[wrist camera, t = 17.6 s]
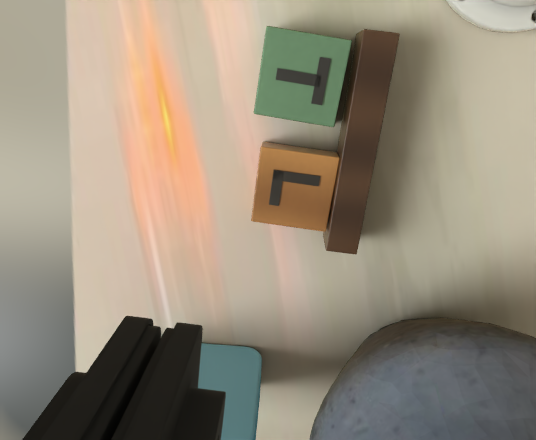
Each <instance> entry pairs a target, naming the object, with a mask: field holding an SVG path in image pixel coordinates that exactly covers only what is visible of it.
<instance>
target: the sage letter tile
mask: <svg viewBox="0 0 536 440" xmlns="http://www.w3.org/2000/svg"><path fill="white" fill-rule="evenodd" d="M351 44H352V41H351V40H347V39H341V38H335V37H330V36H324V35H318V34H312V33H306V32H300V31H294V30H288V29H283V28H277V27H271V26H267V27H266V33H265V40H264V47H263V54H262V61H261V68H260V74H259V81H258V88H257V95H256V102H255V108H254V114H258V115H264V116H270V117H276V118H282V119H288V120H294V121H300V122H306V123H312V124H317V125H323V126H329V127H334V126H335V121H336V116H337V111H338V106H339V102H340V97H341V92H342V87H343V82H344V78H345V73H346V68H347V63H348V58H349V53H350V49H351Z"/></svg>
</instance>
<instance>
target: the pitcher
mask: <svg viewBox="0 0 536 440" xmlns="http://www.w3.org/2000/svg"><path fill="white" fill-rule="evenodd" d="M310 440H536V338H534V337H532V336H529V335H526V334H522V333H519V332H516V331H513V330H510V329H507V328H503V327H500V326H497V325H493V324H490V323H489V324H487V323H481V322H473V321H467V320H459V319H448V318H447V319H445V318H435V319H414V320H403V321H400V322H397V323H394V324H391V325H389V326H386V327H383V328H382V329H380V330H379V331H377V332H375V333H373V334H371V335H370V336H369V337H368V338H367V339H366V340H365V341H364V342H363V343H362V344H361V346H360V347H359V348H358V350H357V351H356V352H355V353H354V355H353V356H352V357H351V359H350V360H349V361H348V362H347V364H346V365H345V367H344V368H343V369H342V371H341V372H340V374H339V375H338V377H337V379H336V380H335V382H334V383H333V384H332V386H331V387H330V389H329V391H328V393H327V395H326V396H325V398H324V400H323V402H322V404H321V407H320V409H319V411H318V414H317V416H316V418H315V420H314V424H313V427H312V431H311V435H310Z"/></svg>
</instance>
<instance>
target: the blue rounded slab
mask: <svg viewBox="0 0 536 440" xmlns="http://www.w3.org/2000/svg"><path fill="white" fill-rule="evenodd" d="M261 367H262V357H261V355H260V353H259V352H258V351H257V350H255V349H253V348H250V347H244V346H231V345H218V344H205V343H202V344H201V356H200V368H199V380H198V388H201V389H209V390H216V391H224V392H226V399H225V408H224V418H223V426H222V434H221V440H256V429H257V419H258V409H259V398H260V383H261Z"/></svg>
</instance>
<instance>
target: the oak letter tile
mask: <svg viewBox="0 0 536 440" xmlns="http://www.w3.org/2000/svg"><path fill="white" fill-rule="evenodd" d="M339 160H340V158H339V156H338V154H337V153H336V152H332V151H325V150H318V149H311V148H304V147H297V146H290V145H283V144H276V143H269V142H263V143H262V145H261V148H260V156H259V164H258V172H257V179H256V187H255V195H254V203H253V211H252V219H251V221H254V222H261V223H268V224H275V225H282V226H289V227H296V228H303V229H310V230H317V231H324V232H326V229H327V223H328V218H329V213H330V207H331V202H332V197H333V191H334V186H335V181H336V175H337V170H338V165H339Z"/></svg>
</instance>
